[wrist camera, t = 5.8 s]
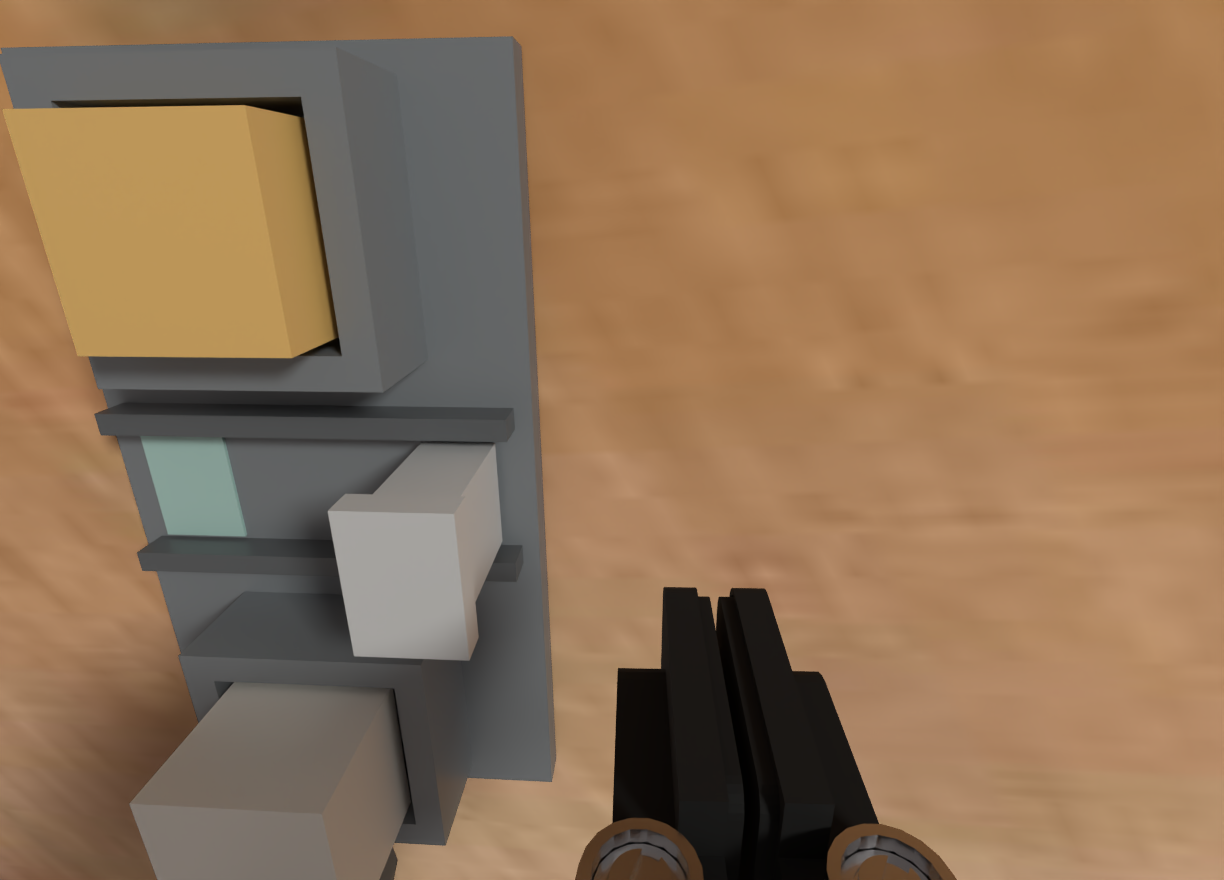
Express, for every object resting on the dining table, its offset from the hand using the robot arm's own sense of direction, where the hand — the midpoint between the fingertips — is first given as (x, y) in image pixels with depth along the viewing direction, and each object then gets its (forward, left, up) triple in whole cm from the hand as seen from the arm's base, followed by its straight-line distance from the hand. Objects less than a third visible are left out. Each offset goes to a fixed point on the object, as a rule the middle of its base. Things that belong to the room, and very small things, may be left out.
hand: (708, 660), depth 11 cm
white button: (+10, +7, -5) cm, 14 cm away
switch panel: (+10, 0, -8) cm, 13 cm away
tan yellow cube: (+10, -7, -7) cm, 14 cm away
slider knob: (+6, 0, -7) cm, 9 cm away
